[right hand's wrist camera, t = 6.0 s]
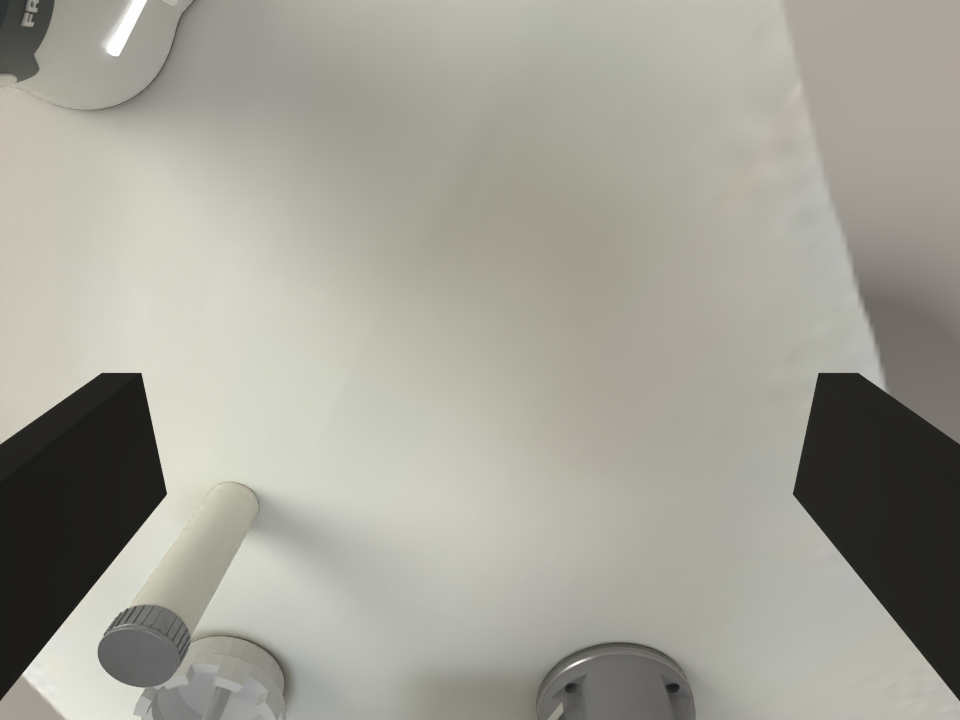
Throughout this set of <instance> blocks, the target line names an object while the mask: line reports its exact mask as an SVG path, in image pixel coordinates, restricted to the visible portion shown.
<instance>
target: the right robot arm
mask: <svg viewBox="0 0 960 720" xmlns="http://www.w3.org/2000/svg"><path fill="white" fill-rule="evenodd" d="M166 495H167V492H166V487H165V482H164V477H163V473H162V468H161V463H160V459H159V454H158V449H157V444H156V440H155V435H154V430H153V426H152V421H151V416H150V411H149V407H148V402H147V397H146V393H145V388H144V383H143V378H142V374H141V373H101V374H100V375H98V376H97V377H96V378H94V379H93V380H91V381H90V382H88V383H87V384H86V385H84V386H83V387H81V388H80V389H78V390H77V391H76V392H74V393H73V394H71V395H70V396H69V397H67V398H66V399H64V400H63V401H61V402H60V403H59V404H57V405H56V406H54V407H53V408H52V409H50V410H49V411H47V412H46V413H44V414H43V415H42V416H40V417H39V418H37V419H36V420H34V421H33V422H32V423H30V424H29V425H27V426H26V427H25V428H23V429H22V430H20V431H19V432H17V433H16V434H15V435H13V436H12V437H10V438H9V439H8V440H6V441H5V442H3V443H2V444H0V701H1V699H2V698H3V697H4V696H5V694H6V693H7V692H8V691H9V689H10V688H11V687H12V686H13V684H14V683H15V682H16V681H17V679H18V678H19V677H20V676H21V675H22V673H23V672H24V671H25V670H26V668H27V667H28V666H29V665H30V663H31V662H32V661H33V660H34V658H35V657H36V656H37V655H38V654H39V652H40V651H41V650H42V649H43V647H44V646H45V645H46V644H47V642H48V641H49V640H50V639H51V637H52V636H53V635H54V634H55V632H56V631H57V630H58V629H59V627H60V626H61V625H62V624H63V623H64V621H65V620H66V619H67V618H68V616H69V615H70V614H71V613H72V611H73V610H74V609H75V608H76V606H77V605H78V604H79V603H80V601H81V600H82V599H83V598H84V597H85V595H86V594H87V593H88V592H89V590H90V589H91V588H92V587H93V585H94V584H95V583H96V582H97V580H98V579H99V578H100V577H101V575H102V574H103V573H104V572H105V571H106V569H107V568H108V567H109V566H110V564H111V563H112V562H113V561H114V559H115V558H116V557H117V556H118V554H119V553H120V552H121V551H122V549H123V548H124V547H125V546H126V545H127V543H128V542H129V541H130V540H131V538H132V537H133V536H134V535H135V533H136V532H137V531H138V530H139V528H140V527H141V526H142V525H143V523H144V522H145V521H146V520H147V518H148V517H149V516H150V515H151V514H152V512H153V511H154V510H155V509H156V507H157V506H158V505H159V504H160V502H161V501H162V500H163V499H164V497H165V496H166ZM793 495H794V496H795V497H796V499H797V500H798V501H799V502H800V504H801V505H802V506H803V507H804V509H805V510H806V511H807V512H808V514H809V515H810V516H811V517H812V518H813V520H814V521H815V522H816V523H817V525H818V526H819V527H820V528H821V530H822V531H823V532H824V533H825V535H826V536H827V537H828V538H829V540H830V541H831V542H832V543H833V545H834V546H835V547H836V548H837V549H838V551H839V552H840V553H841V554H842V556H843V557H844V558H845V559H846V561H847V562H848V563H849V564H850V566H851V567H852V568H853V569H854V571H855V572H856V573H857V574H858V575H859V577H860V578H861V579H862V580H863V582H864V583H865V584H866V585H867V587H868V588H869V589H870V590H871V592H872V593H873V594H874V595H875V597H876V598H877V599H878V600H879V601H880V603H881V604H882V605H883V606H884V608H885V609H886V610H887V611H888V613H889V614H890V615H891V616H892V618H893V619H894V620H895V621H896V623H897V624H898V625H899V626H900V627H901V629H902V630H903V631H904V632H905V634H906V635H907V636H908V637H909V639H910V640H911V641H912V642H913V644H914V645H915V646H916V647H917V649H918V650H919V651H920V652H921V654H922V655H923V656H924V657H925V658H926V660H927V661H928V662H929V663H930V665H931V666H932V667H933V668H934V670H935V671H936V672H937V673H938V675H939V676H940V677H941V678H942V680H943V681H944V682H945V683H946V684H947V686H948V687H949V688H950V689H951V691H952V692H953V693H954V694H955V696H956V697H957V698H958V699H959V701H960V444H958V443H957V442H955V441H954V440H952V439H951V438H950V437H948V436H947V435H945V434H944V433H943V432H941V431H940V430H938V429H937V428H935V427H934V426H933V425H931V424H930V423H928V422H927V421H925V420H924V419H923V418H921V417H920V416H918V415H917V414H916V413H914V412H913V411H911V410H910V409H908V408H907V407H906V406H904V405H903V404H901V403H900V402H899V401H897V400H896V399H894V398H893V397H891V396H890V395H889V394H887V393H886V392H884V391H883V390H882V389H880V388H879V387H877V386H876V385H874V384H873V383H872V382H870V381H869V380H867V379H866V378H864V377H863V376H862V375H860V374H859V373H819V374H818V378H817V383H816V388H815V393H814V397H813V402H812V407H811V411H810V416H809V421H808V426H807V430H806V435H805V440H804V444H803V449H802V454H801V459H800V463H799V468H798V473H797V477H796V482H795V487H794V492H793ZM537 713H538V720H695V705H694V700H693V695H692V692H691V689H690V686H689V684H688V681H687V679H686V677H685V675H684V673H683V672H682V670H681V669H680V668H679V666H678V665H677V664H676V663H675V662H674V661H672V660H671V659H670V658H668V657H667V656H665V655H663V654H662V653H660V652H658V651H655V650H653V649H650V648H647V647H643V646H639V645H633V644H606V645H600V646H595V647H591V648H588V649H585V650H582V651H579V652H577V653H575V654H573V655H571V656H569V657H567V658H566V659H564V660H563V661H561V662H560V663H559V664H558V665H556V666H555V667H554V668H553V669H552V670H551V671H550V673H549V674H548V675H547V676H546V678H545V679H544V681H543V683H542V685H541V687H540V689H539V692H538V697H537Z"/></svg>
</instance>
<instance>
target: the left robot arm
mask: <svg viewBox="0 0 960 720" xmlns="http://www.w3.org/2000/svg"><path fill="white" fill-rule="evenodd" d="M193 1H194V0H0V87H6V86H9V87H12V88H16V89H19V90H22V91H25V92H27V93H29V94H30V95H32V96H34V97H36V98H38V99H41V100H43V101H45V102H48V103H51V104H54V105H57V106H61V107H65V108H70V109H78V110H95V109H103V108H108V107H112V106H115V105H118V104H120V103H123V102H125V101H127V100H129V99H131V98H132V97H134V96H136V95H137V94H138V93H140V92H141V91H142V90H143V89H145V88H146V87H147V86H148V85H149V84H150V83H151V82H152V81H153V79H154V78H155V77H156V76H157V74H158V73H159V71H160V70H161V68H162V66H163V64H164V63H165V61H166V59H167V56H168V54H169V51H170V49H171V46H172V42H173V38H174V35H175V31H176V28H177V24H178V22H179V19H180V17H181V15H182V13H183V12H184V11H185V10H186V9H187V7H188V6H189V5H190V4H191V3H192V2H193Z"/></svg>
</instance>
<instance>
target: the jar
mask: <svg viewBox="0 0 960 720" xmlns="http://www.w3.org/2000/svg"><path fill="white" fill-rule="evenodd" d="M258 511H259V503H258V500H257V498H256V496H255V494H254V493H253V492H252V491H251V490H250V489H249V488H247V487H245V486H244V485H241V484H238V483H233V482H226V483H222V484H219V485H217V486H215V487H214V488H213V489H212V490H211V491H210V492H209V494H208V495H207V497H206V498H205V499H204V501H203V502H202V504H201V505H200V507H199V508H198V509H197V511H196V512H195V514H194V515H193V517H192V518H191V519H190V521H189V522H188V524H187V525H186V527H185V528H184V529H183V531H182V532H181V534H180V535H179V537H178V538H177V539H176V541H175V542H174V544H173V545H172V547H171V548H170V549H169V551H168V552H167V554H166V555H165V556H164V558H163V559H162V561H161V562H160V564H159V565H158V566H157V568H156V569H155V571H154V572H153V574H152V575H151V576H150V578H149V579H148V581H147V582H146V584H145V585H144V586H143V588H142V589H141V591H140V592H139V594H138V595H137V596H136V598H135V599H134V601H133V602H132V604H131V605H130V606H129V608H131V607H133V606H137V605H154V606H159V607H162V608H165V609H167V610H169V611H171V612H173V613H174V614H176V615H177V616H178V617H179V618H181V619H182V621H183V622H184V623H185V624H186V626H187V628H188V630H189V633H190V636H191V635H192V633H193V631H194V629H195V628H196V626H197V624H198V622H199V620H200V618H201V617H202V615H203V613H204V611H205V609H206V608H207V606H208V604H209V602H210V600H211V598H212V597H213V595H214V593H215V591H216V589H217V587H218V586H219V584H220V582H221V580H222V578H223V576H224V575H225V573H226V571H227V569H228V567H229V565H230V564H231V562H232V560H233V558H234V556H235V554H236V553H237V551H238V549H239V547H240V545H241V543H242V542H243V540H244V538H245V536H246V534H247V532H248V531H249V529H250V527H251V525H252V523H253V521H254V520H255V518H256V516H257V514H258Z"/></svg>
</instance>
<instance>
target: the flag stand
mask: <svg viewBox="0 0 960 720" xmlns="http://www.w3.org/2000/svg"><path fill="white" fill-rule="evenodd" d="M188 649H189V650H188V652H187V654H186V656H185V658H184V659H183V661H182V663H181V665H180V667H179V668H178V669H177V671H176V672H175V673H174V675H173V676H172V677H171V678H170V679H169V680H168V681H167V682H165V683H163V684H161V685H158V686H154V687H146V688H145V690H144V692H143V693H142V695H141V697H140V698H139V700H138V702H137V704H136V706H135V710H134V714H133V715H139V716H141V718H142V720H286V704H285V700H284V697H283V692H284V684H285V681H284V676H283V673H282V670H281V668H280V666H279V665H278V663H277V662H276V661H275V659H274V658H273V657H272V656H271V655H270V654H269V653H267V652H266V651H265V650H263V649H262V648H260V647H259V646H257V645H255V644H253V643H250V642H248V641H246V640H242V639H238V638H234V637H226V636H213V637H207V638H202V639H199V640H197V641H194V642H192V643H191V644H190V646H189V648H188Z"/></svg>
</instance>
